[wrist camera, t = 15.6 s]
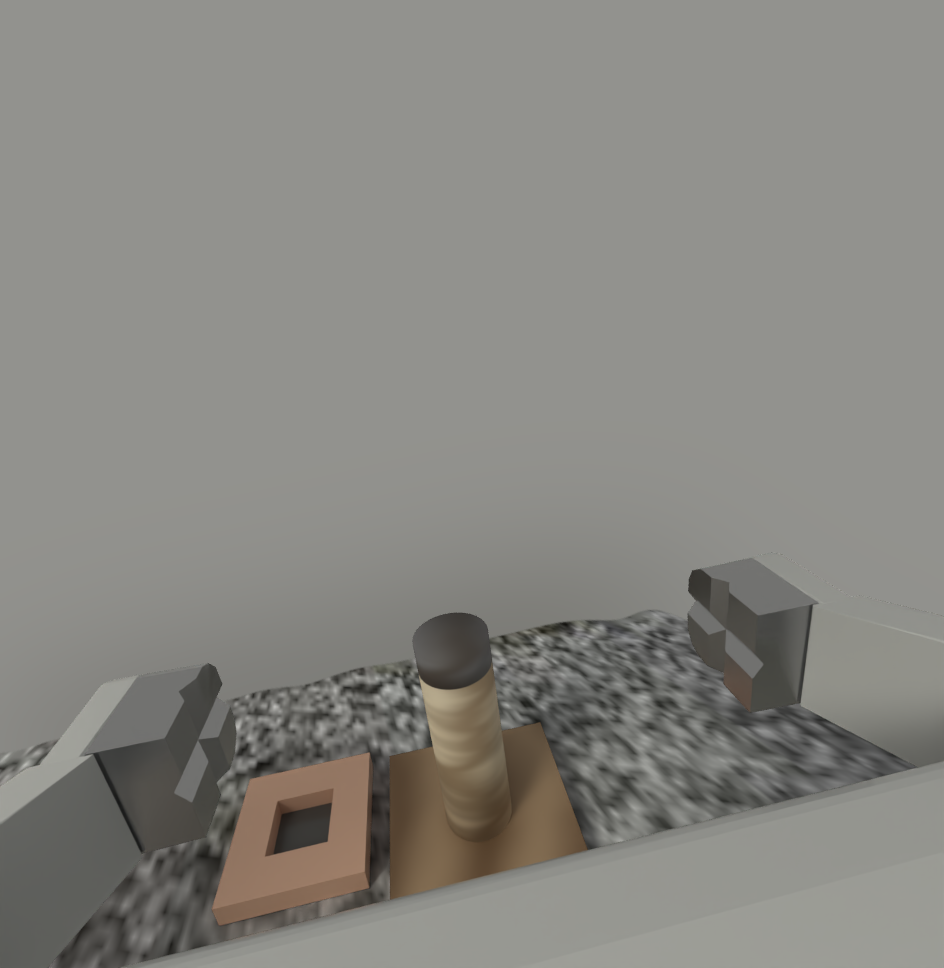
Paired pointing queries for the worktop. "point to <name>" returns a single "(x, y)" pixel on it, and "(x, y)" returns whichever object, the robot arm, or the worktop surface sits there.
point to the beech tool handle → (464, 723)
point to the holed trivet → (299, 839)
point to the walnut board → (450, 859)
